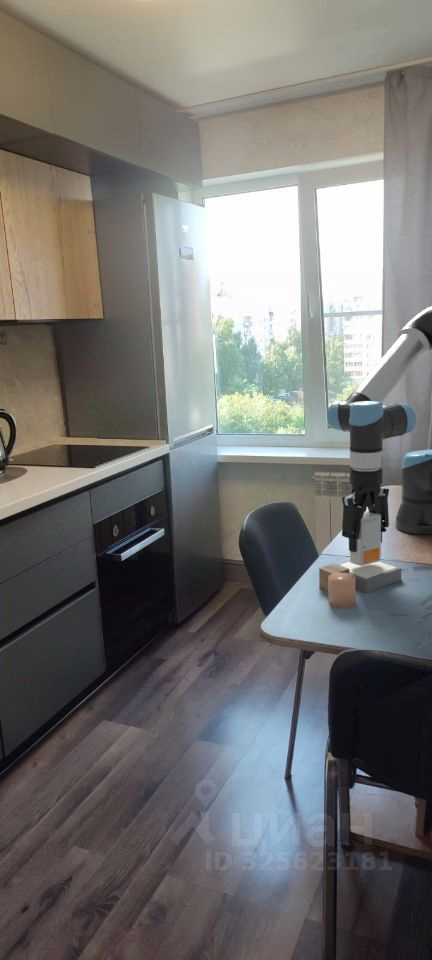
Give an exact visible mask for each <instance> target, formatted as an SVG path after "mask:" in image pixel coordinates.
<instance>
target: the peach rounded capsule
mask: <svg viewBox="0 0 432 960" xmlns="http://www.w3.org/2000/svg"><path fill="white" fill-rule="evenodd" d="M327 593H328V596H327V597H328V601H327V602H328V604H329V605H330V606H331V607H334V608H339V609H346V608H351V607H353V606H355V605H356V588H355V576H354V575H352V574H349V573H333V574H331V575H329V576H328V591H327Z"/></svg>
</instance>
